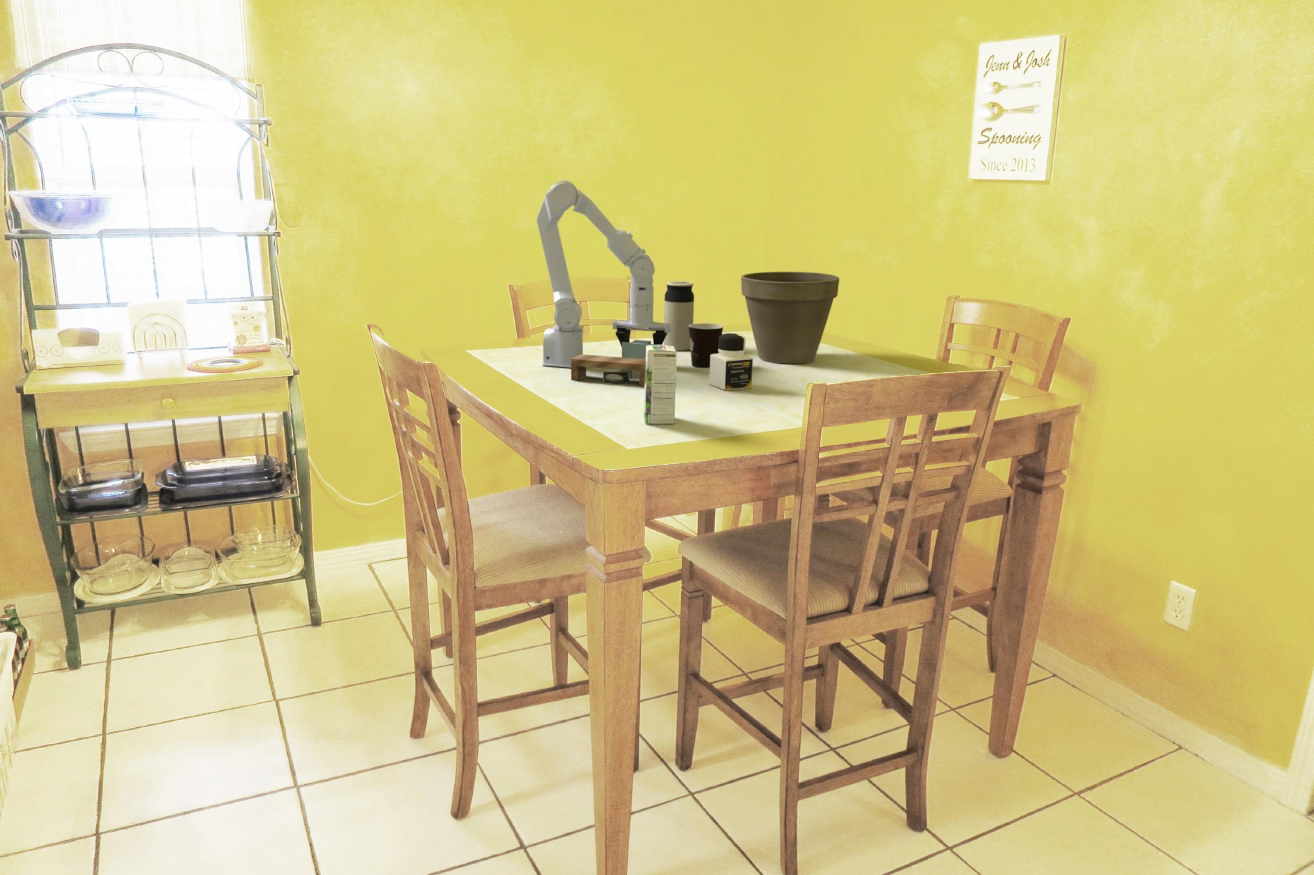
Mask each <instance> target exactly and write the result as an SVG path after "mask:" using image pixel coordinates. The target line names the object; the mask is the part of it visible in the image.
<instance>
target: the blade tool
mask: <svg viewBox="0 0 1314 875" xmlns="http://www.w3.org/2000/svg"><path fill="white" fill-rule="evenodd" d="M649 345H654V344H653V343H652V340H643V339H635V340H633V341H631V342H630V341H629V342H622V347H621V357H623V358H636V359H646V346H649ZM622 370H623V369H622ZM627 371H629V379H630V380H631V379H633V378H634V377H636V376H639V373H640V371H635V370H627Z"/></svg>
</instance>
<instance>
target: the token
mask: <svg viewBox="0 0 1314 875" xmlns="http://www.w3.org/2000/svg"><path fill="white" fill-rule="evenodd" d="M602 374H603V375H602V376H603V383H605V384H610V385H623V384H624V385H625V384H628V383H629V382H630V378H629V371H627V370H622V369H610V368H608V369H606V370H605V369H604V371H603V373H602Z"/></svg>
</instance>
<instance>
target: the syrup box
mask: <svg viewBox="0 0 1314 875" xmlns="http://www.w3.org/2000/svg"><path fill="white" fill-rule="evenodd" d="M677 353H678V351H676V349H675V347H674V346H668V345H664V344H662V345H649V346H646V365H645V386H644V392H643V393H644V396H643V399H644V400H643V419H644V423H645V425H667V424H668V425H669V424H672V425H674V424H675V414H676V413H675V412H676V409H675V408H676V387H677V386H676V385H677V383H676V382H677V358H678V356H677V355H678V354H677Z"/></svg>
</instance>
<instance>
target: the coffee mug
mask: <svg viewBox="0 0 1314 875" xmlns="http://www.w3.org/2000/svg"><path fill="white" fill-rule="evenodd" d="M723 330H724V325H722V324H717V323H709V322H708V323H704V322H703V323H702V322H700V323H693V324H690V325H689V337H690V358H691V366H692V367H693V368H698V369H710V355H711V354H719V352H718V346H719V336H720V335H722V334H723Z"/></svg>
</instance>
